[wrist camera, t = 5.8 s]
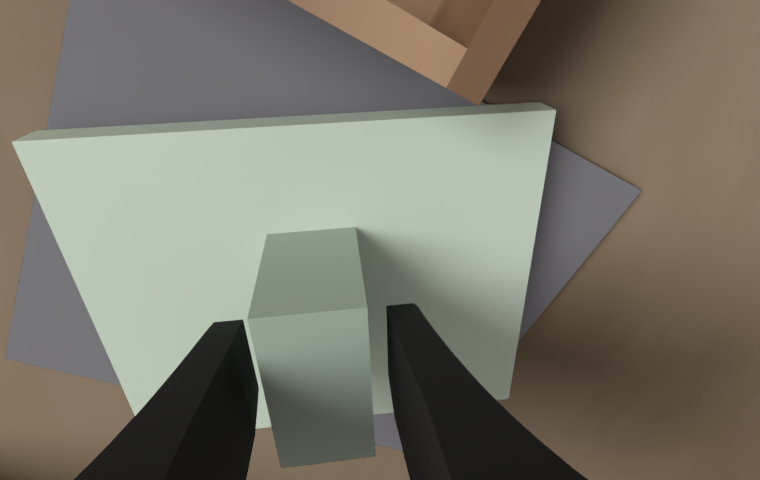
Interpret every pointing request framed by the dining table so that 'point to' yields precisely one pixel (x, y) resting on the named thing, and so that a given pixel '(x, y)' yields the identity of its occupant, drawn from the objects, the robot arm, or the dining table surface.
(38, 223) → the mat
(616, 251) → the dining table surface
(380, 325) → the lid
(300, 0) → the box
